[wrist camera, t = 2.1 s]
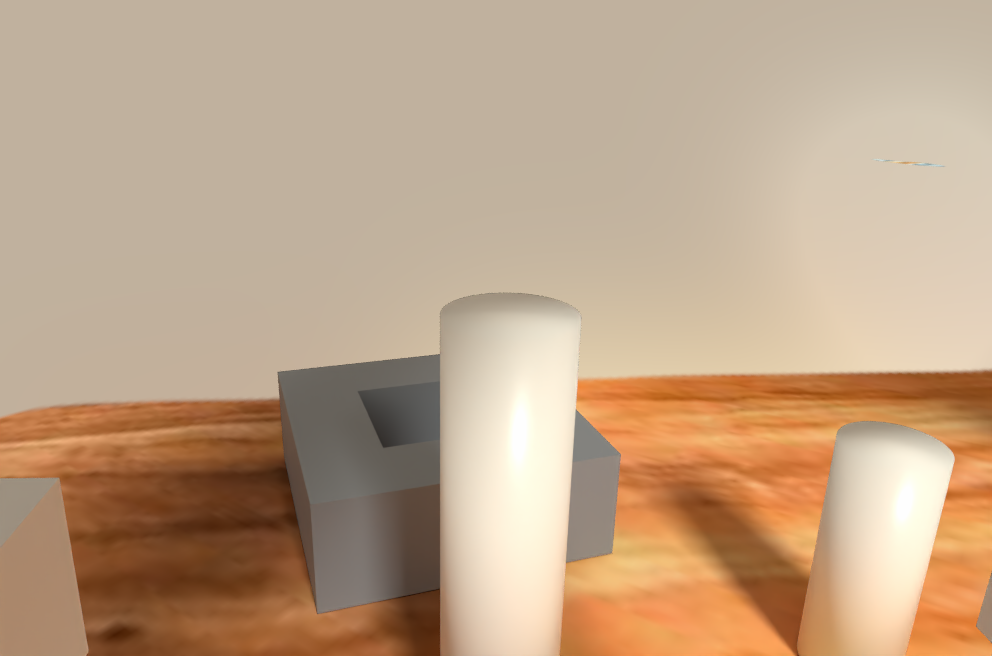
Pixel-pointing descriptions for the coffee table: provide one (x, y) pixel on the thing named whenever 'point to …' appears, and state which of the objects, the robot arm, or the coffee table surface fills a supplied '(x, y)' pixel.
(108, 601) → the coffee table surface
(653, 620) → the coffee table surface
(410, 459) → the hole block
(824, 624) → the short pin
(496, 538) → the tall pin
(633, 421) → the coffee table surface
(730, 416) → the coffee table surface
